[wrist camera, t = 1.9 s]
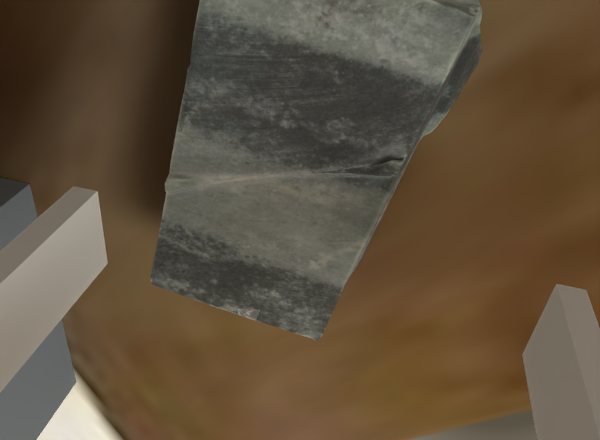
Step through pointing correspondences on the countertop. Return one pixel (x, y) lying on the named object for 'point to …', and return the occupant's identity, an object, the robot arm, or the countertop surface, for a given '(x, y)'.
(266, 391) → the countertop surface
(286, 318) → the stone block
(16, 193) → the block
